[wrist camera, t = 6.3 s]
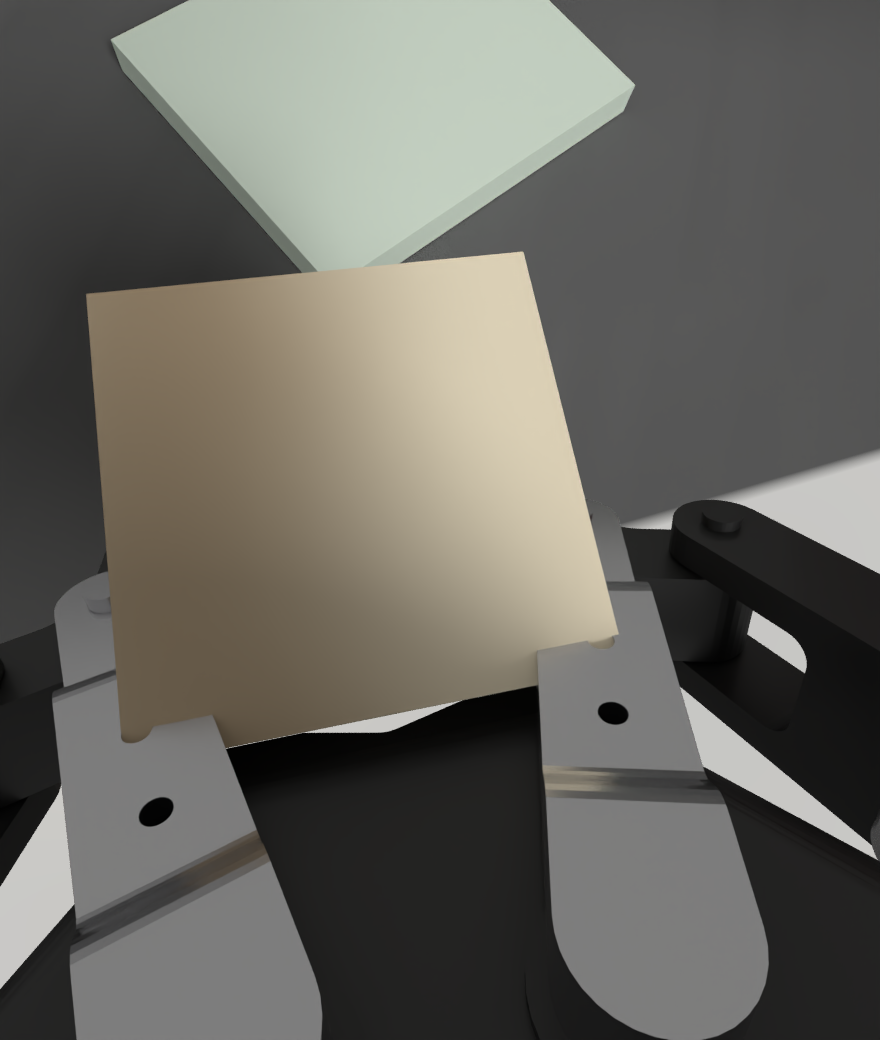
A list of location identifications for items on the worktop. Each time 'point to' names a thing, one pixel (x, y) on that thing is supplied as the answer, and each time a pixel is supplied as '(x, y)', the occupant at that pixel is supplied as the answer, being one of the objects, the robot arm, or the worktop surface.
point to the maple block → (336, 496)
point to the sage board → (370, 110)
